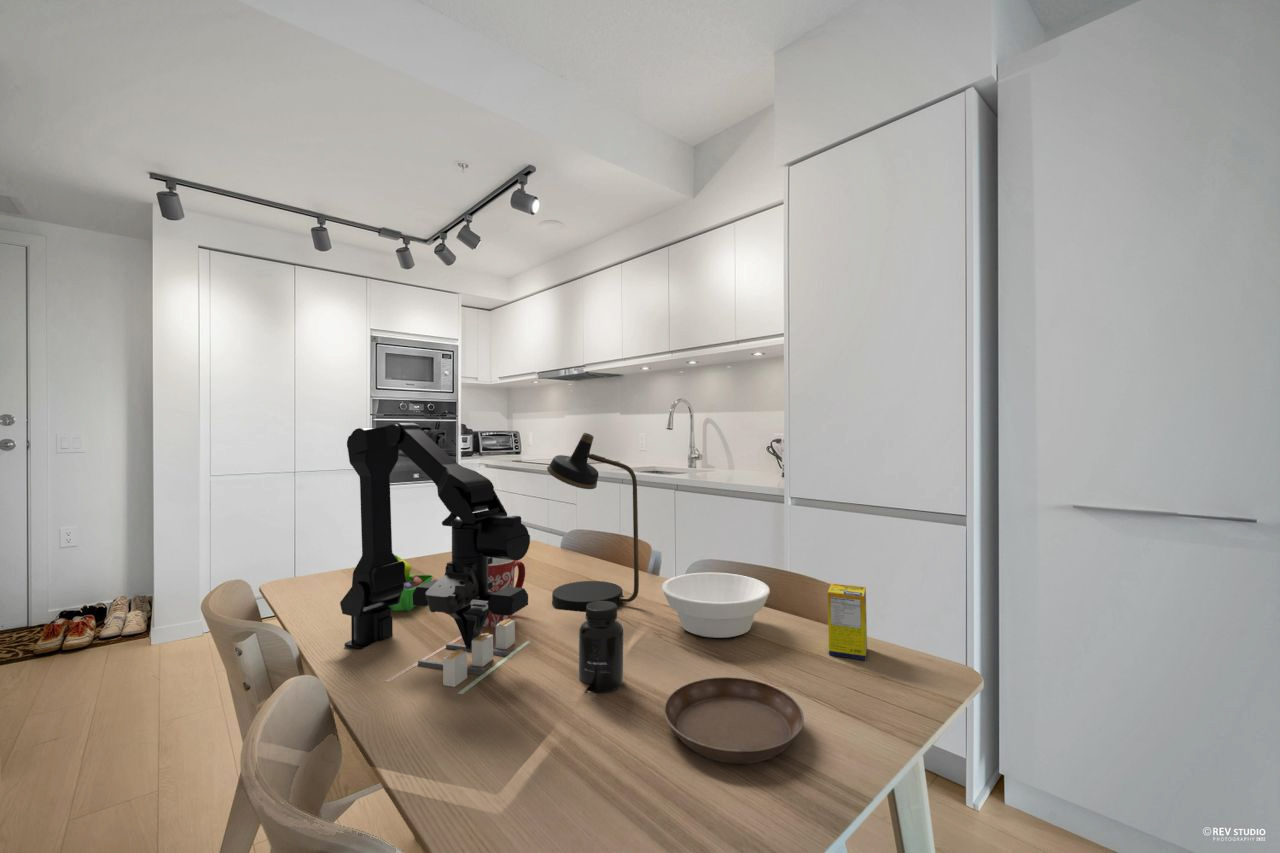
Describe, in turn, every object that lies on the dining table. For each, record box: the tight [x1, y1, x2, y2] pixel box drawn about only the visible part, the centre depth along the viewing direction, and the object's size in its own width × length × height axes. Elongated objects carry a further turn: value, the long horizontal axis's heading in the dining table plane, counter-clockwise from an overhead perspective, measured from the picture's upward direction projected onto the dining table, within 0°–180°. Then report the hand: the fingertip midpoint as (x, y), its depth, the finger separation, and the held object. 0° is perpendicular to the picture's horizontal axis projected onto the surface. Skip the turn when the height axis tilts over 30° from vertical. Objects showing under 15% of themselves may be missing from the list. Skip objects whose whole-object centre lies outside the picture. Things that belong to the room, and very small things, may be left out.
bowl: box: [661, 572, 771, 639], centre depth 105 cm, size 21×21×8 cm
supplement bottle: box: [578, 601, 624, 694], centre depth 82 cm, size 7×7×12 cm
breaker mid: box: [471, 632, 494, 668], centre depth 87 cm, size 2×3×4 cm, turn 163°
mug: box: [482, 558, 526, 628], centre depth 108 cm, size 13×9×14 cm
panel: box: [384, 635, 532, 695], centre depth 88 cm, size 14×22×2 cm, turn 163°
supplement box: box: [827, 583, 868, 661], centre depth 93 cm, size 6×6×11 cm
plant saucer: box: [663, 676, 805, 765], centre depth 69 cm, size 18×18×3 cm
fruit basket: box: [389, 554, 433, 612], centre depth 121 cm, size 11×9×11 cm
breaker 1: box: [442, 649, 468, 688], centre depth 80 cm, size 2×3×4 cm, turn 163°
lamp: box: [546, 432, 640, 613], centre depth 121 cm, size 16×22×38 cm
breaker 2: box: [495, 618, 516, 651], centre depth 94 cm, size 2×3×4 cm, turn 163°
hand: (470, 648), depth 88 cm, fingers closed
